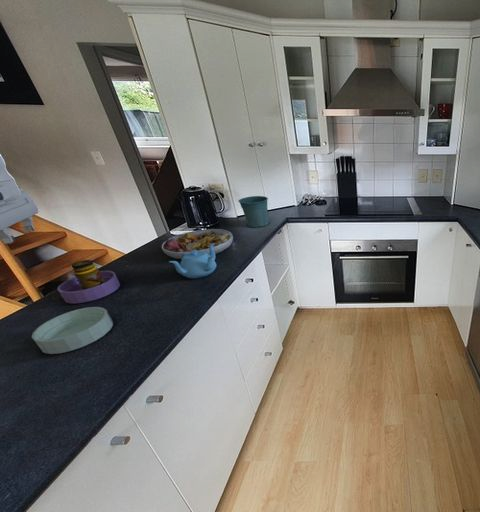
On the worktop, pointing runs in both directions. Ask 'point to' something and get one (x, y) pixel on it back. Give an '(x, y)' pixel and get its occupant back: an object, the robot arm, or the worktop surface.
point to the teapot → (196, 263)
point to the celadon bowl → (72, 330)
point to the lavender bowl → (75, 296)
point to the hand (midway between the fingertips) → (20, 236)
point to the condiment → (87, 274)
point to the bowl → (197, 242)
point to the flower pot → (255, 210)
